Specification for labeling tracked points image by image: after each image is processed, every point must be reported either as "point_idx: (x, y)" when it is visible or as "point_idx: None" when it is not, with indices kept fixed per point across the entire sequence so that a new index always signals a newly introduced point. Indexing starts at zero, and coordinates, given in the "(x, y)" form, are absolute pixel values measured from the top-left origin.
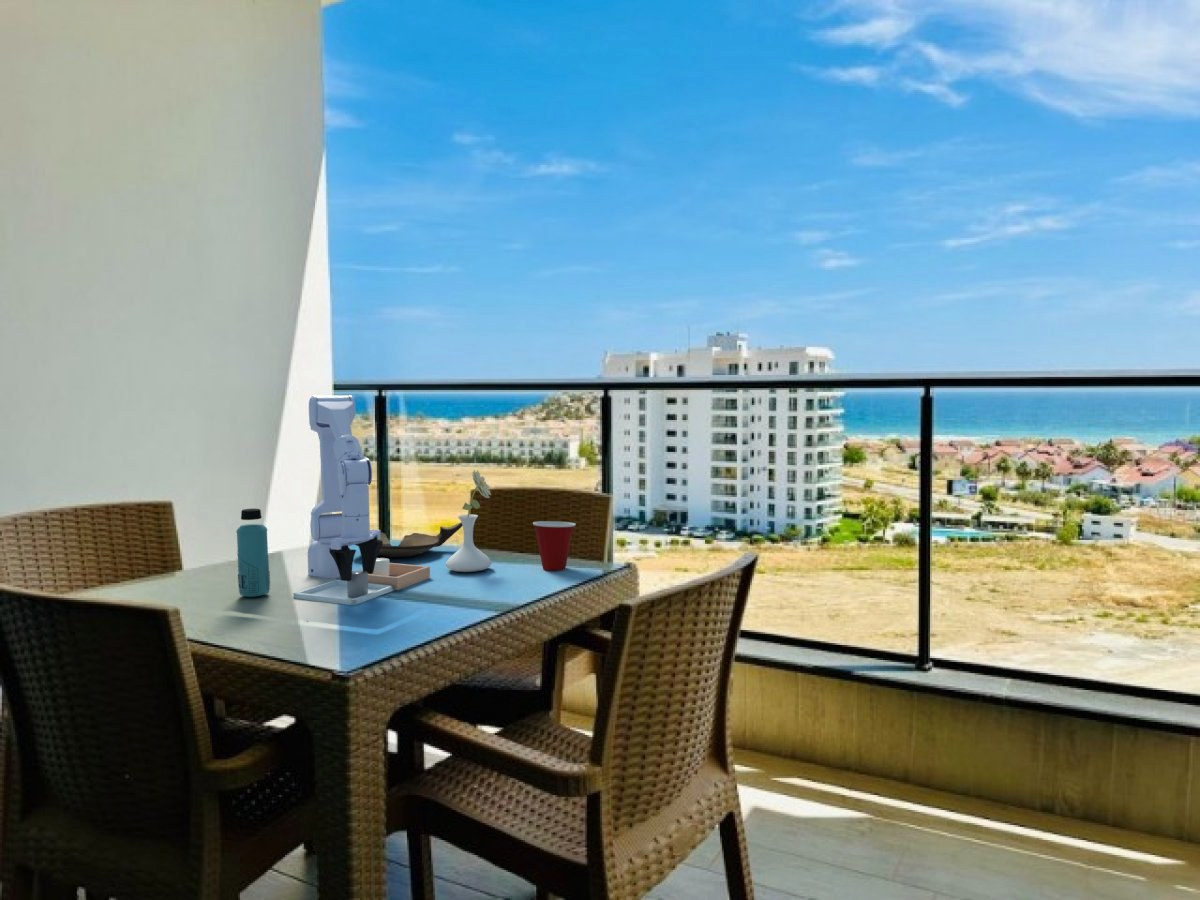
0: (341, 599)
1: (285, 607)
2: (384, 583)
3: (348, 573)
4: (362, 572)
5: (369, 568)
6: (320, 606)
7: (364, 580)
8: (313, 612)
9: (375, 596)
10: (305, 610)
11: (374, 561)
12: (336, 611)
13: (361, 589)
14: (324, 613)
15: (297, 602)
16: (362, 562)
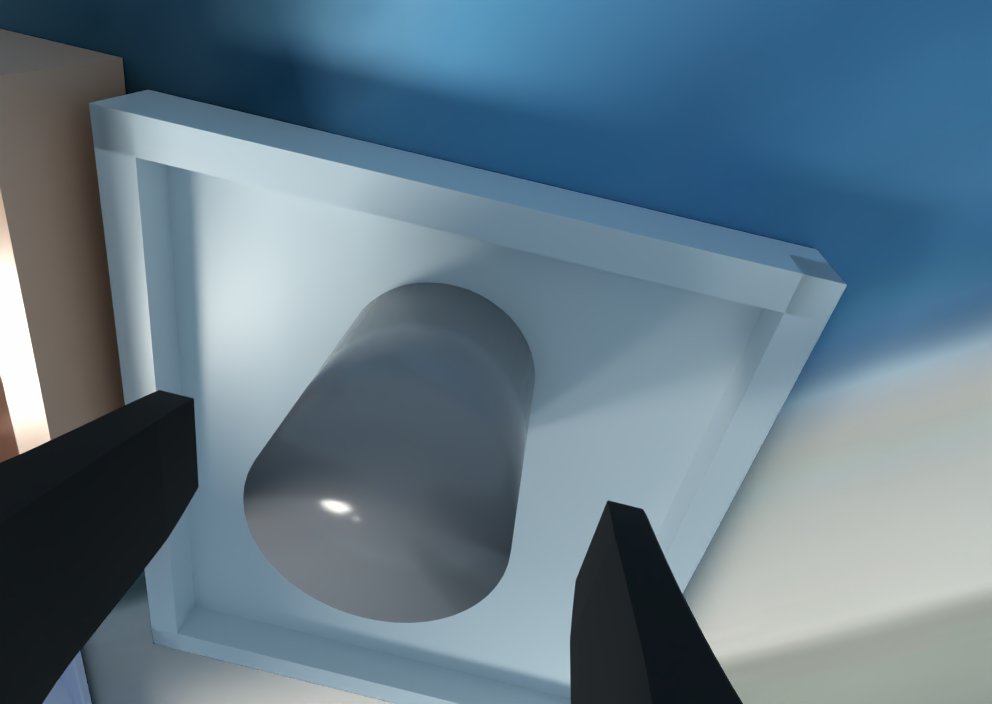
0: (767, 422)
1: (750, 698)
2: (77, 250)
3: (678, 592)
4: (335, 482)
5: (151, 464)
6: (719, 532)
7: (436, 380)
8: (920, 521)
9: (463, 177)
10: (845, 584)
11: (30, 473)
12: (907, 370)
13: (490, 350)
14: (972, 437)
15: None
16: (110, 607)
